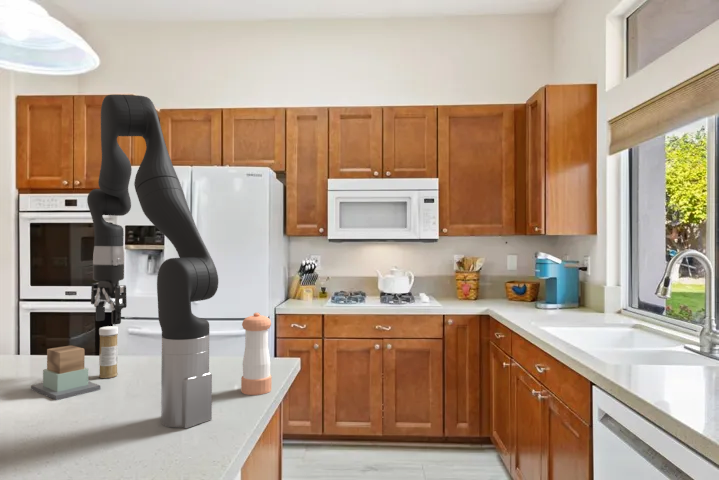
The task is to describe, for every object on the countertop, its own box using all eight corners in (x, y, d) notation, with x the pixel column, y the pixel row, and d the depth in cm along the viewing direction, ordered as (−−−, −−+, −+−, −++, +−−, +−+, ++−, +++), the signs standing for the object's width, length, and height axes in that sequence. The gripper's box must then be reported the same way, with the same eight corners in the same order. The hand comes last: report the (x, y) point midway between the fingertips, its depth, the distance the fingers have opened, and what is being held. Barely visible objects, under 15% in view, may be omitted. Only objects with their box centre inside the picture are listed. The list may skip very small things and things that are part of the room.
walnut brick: (84, 368, 118) (84, 348, 119) (59, 373, 114) (60, 352, 114) (71, 364, 123) (71, 345, 123) (47, 369, 118) (47, 349, 118)
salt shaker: (277, 390, 118) (277, 312, 118) (252, 397, 112) (252, 315, 113) (260, 384, 123) (260, 309, 123) (235, 390, 117) (235, 312, 118)
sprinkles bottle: (103, 374, 132) (103, 325, 132) (120, 374, 132) (120, 325, 132) (95, 379, 127) (96, 328, 127) (113, 378, 128) (114, 328, 128)
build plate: (100, 389, 118) (100, 369, 118) (56, 400, 110) (56, 378, 110) (74, 380, 126) (74, 361, 126) (30, 389, 118) (31, 369, 118)
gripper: (81, 262, 131) (81, 321, 131) (108, 264, 123) (107, 327, 123) (109, 261, 137) (108, 318, 137) (136, 263, 129) (135, 323, 129)
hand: (108, 322), depth 130 cm, fingers open, 8 cm apart
